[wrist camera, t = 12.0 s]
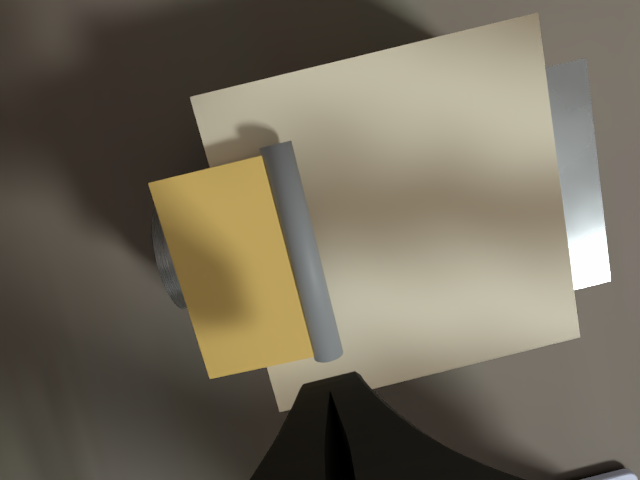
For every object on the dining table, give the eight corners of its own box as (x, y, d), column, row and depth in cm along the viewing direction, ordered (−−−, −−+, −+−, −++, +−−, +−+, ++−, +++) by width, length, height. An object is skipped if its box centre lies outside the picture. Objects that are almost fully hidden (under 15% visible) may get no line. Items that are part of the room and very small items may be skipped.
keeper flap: (344, 358, 14) (210, 387, 14) (342, 345, 15) (217, 372, 15) (290, 140, 13) (144, 176, 13) (292, 139, 13) (155, 173, 14)
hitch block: (498, 282, 21) (580, 337, 15) (282, 335, 21) (279, 412, 15) (460, 53, 19) (538, 12, 13) (221, 111, 19) (189, 96, 13)
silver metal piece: (524, 243, 21) (611, 280, 15) (207, 321, 21) (177, 388, 15) (500, 82, 20) (586, 57, 14) (159, 165, 19) (105, 175, 14)
